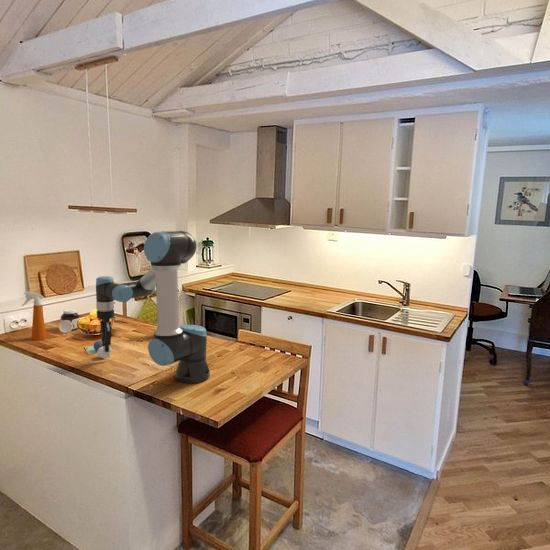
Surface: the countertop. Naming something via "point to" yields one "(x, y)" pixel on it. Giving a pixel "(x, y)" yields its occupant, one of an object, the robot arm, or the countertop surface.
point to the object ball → (97, 345)
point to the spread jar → (69, 320)
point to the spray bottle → (37, 316)
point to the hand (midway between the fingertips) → (106, 357)
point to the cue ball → (100, 352)
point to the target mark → (92, 350)
